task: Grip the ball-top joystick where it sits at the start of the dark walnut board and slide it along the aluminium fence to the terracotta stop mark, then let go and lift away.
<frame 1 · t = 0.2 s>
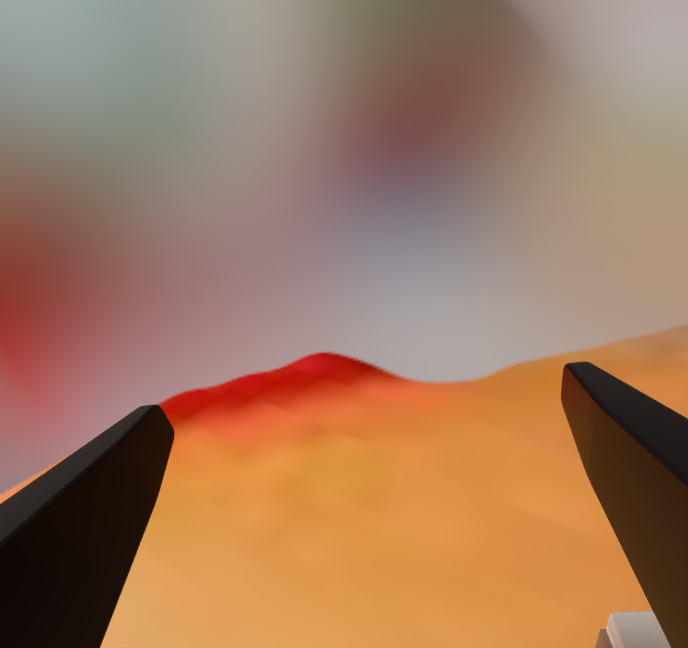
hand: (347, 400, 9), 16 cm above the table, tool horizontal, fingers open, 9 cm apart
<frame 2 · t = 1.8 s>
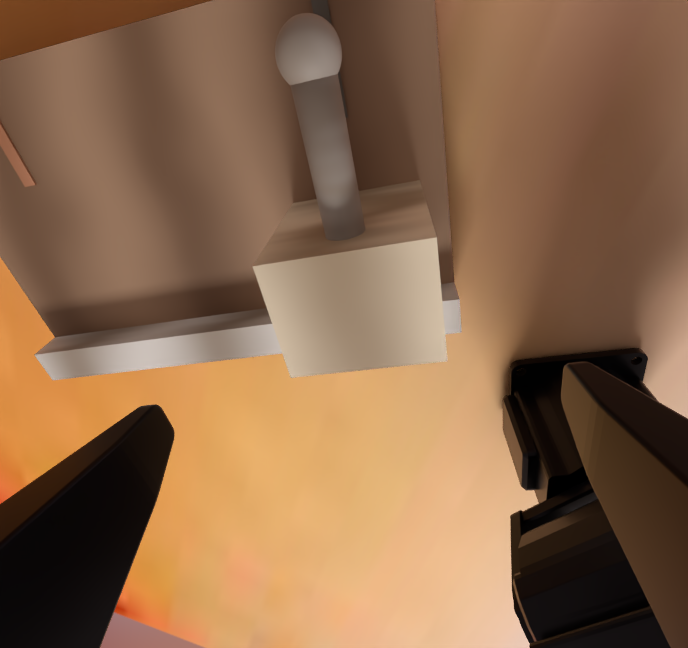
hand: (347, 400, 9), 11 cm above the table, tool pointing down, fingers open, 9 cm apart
board: (215, 201, 19), on the table
ball-top joystick: (363, 240, 17), point 2 cm above the table, touching board
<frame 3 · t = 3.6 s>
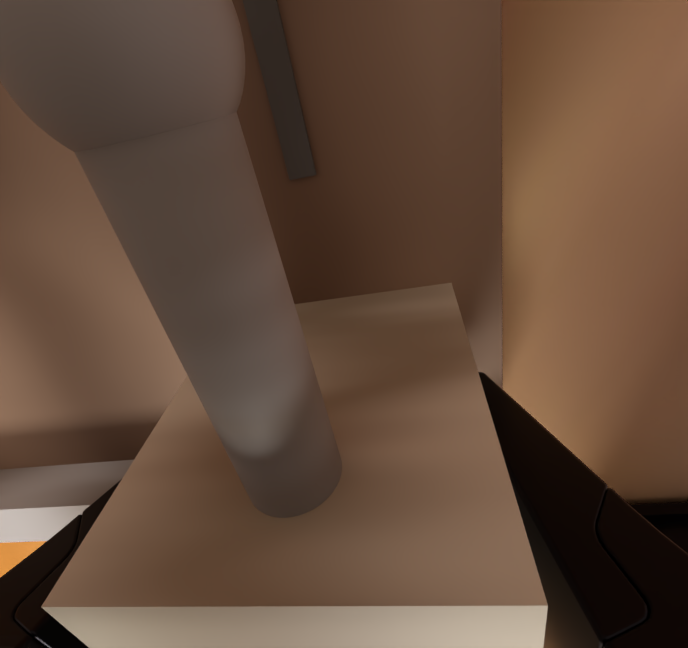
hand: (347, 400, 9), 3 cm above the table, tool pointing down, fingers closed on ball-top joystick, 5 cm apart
board: (115, 289, 12), on the table
ball-top joystick: (350, 370, 10), point 2 cm above the table, touching board, gripper
when the fingers open (3 cm above the table, at t = 8.3 s): ball-top joystick stays where it is, resting on board.
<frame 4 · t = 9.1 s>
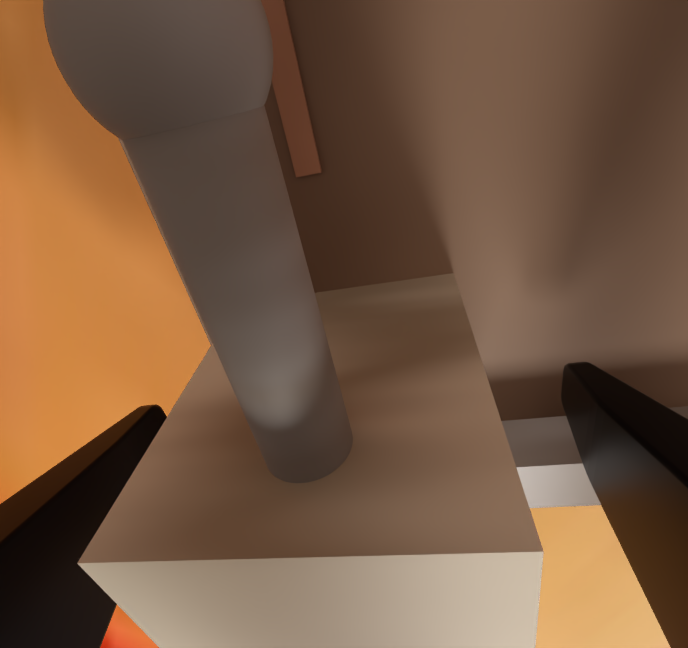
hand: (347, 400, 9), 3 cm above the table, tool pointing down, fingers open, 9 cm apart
board: (610, 206, 10), on the table
ball-top joystick: (356, 359, 10), point 2 cm above the table, touching board
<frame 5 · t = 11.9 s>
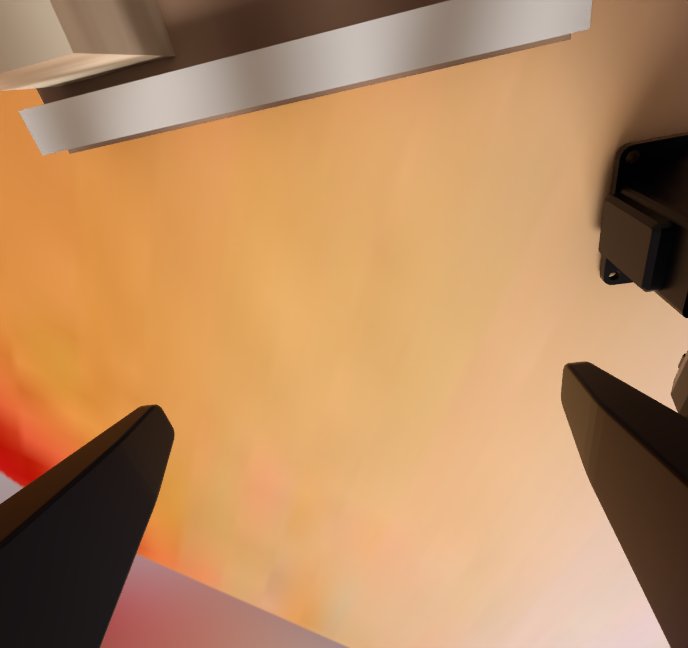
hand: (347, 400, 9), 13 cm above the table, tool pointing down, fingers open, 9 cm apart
ball-top joystick: (90, 7, 15), point 2 cm above the table, touching board
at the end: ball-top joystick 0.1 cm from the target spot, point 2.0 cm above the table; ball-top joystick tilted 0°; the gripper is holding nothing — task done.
